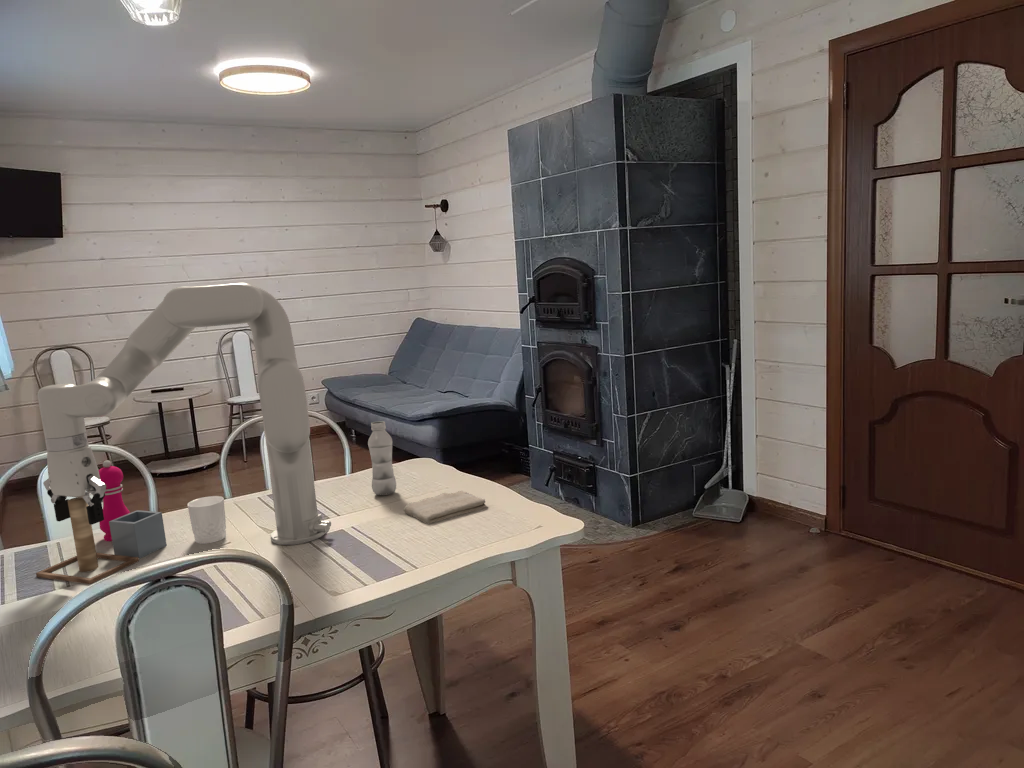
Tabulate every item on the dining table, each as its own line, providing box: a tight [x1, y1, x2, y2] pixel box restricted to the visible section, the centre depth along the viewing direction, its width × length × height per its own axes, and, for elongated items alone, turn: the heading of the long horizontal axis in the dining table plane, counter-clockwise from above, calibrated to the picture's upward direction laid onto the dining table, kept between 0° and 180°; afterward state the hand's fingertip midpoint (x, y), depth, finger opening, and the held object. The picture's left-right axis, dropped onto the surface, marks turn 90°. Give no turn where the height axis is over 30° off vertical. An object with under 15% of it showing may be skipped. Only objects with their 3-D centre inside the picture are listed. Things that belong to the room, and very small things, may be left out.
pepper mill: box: [98, 459, 131, 542], centre depth 177 cm, size 7×7×20 cm
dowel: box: [68, 497, 99, 573], centre depth 158 cm, size 4×4×16 cm
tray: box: [35, 552, 140, 585], centre depth 159 cm, size 16×12×2 cm
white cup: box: [186, 495, 227, 545], centre depth 173 cm, size 8×8×10 cm
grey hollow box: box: [109, 509, 168, 559], centre depth 168 cm, size 8×8×9 cm
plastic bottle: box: [367, 420, 397, 496], centre depth 200 cm, size 6×7×20 cm
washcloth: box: [403, 490, 487, 525], centre depth 184 cm, size 12×18×3 cm, turn 126°
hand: (80, 520), depth 158 cm, fingers open, 9 cm apart
